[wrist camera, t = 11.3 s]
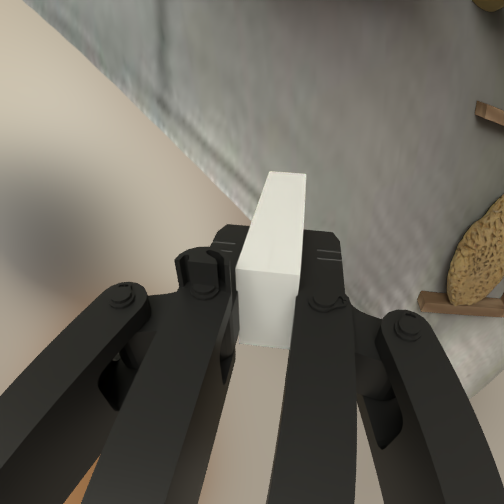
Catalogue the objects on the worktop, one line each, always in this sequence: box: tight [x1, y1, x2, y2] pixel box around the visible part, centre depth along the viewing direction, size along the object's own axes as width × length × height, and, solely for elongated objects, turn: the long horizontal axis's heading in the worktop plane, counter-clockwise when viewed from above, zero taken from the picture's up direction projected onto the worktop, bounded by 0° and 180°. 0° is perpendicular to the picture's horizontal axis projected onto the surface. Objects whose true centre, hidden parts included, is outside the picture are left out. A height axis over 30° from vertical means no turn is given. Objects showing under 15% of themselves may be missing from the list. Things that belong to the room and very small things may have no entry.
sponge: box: [447, 195, 504, 306], centre depth 39 cm, size 13×8×20 cm
